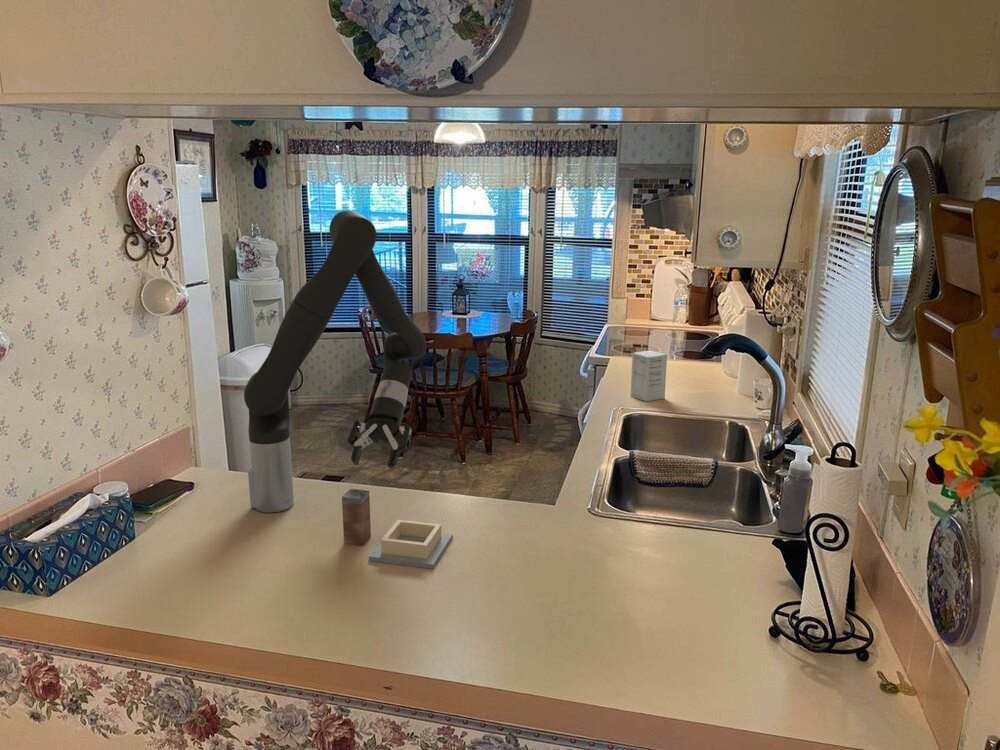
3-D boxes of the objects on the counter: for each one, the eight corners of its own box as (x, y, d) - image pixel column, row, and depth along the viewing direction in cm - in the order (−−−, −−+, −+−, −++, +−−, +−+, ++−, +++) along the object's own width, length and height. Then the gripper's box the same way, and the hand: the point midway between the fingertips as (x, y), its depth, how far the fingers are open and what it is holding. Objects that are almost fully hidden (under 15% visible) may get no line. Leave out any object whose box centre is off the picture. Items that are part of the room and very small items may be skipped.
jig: (368, 560, 152) (368, 543, 151) (393, 531, 165) (392, 514, 164) (433, 569, 149) (432, 551, 148) (452, 538, 162) (452, 521, 161)
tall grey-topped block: (344, 543, 159) (341, 496, 156) (352, 534, 163) (350, 488, 160) (362, 546, 158) (361, 498, 155) (370, 536, 162) (369, 490, 159)
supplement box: (665, 398, 272) (668, 354, 268) (646, 402, 267) (649, 357, 263) (648, 392, 280) (650, 349, 276) (629, 395, 275) (631, 352, 271)
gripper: (356, 393, 172) (337, 455, 164) (413, 397, 169) (397, 461, 161) (366, 408, 179) (348, 469, 171) (421, 412, 176) (406, 475, 168)
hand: (372, 465), depth 166 cm, fingers open, 8 cm apart
